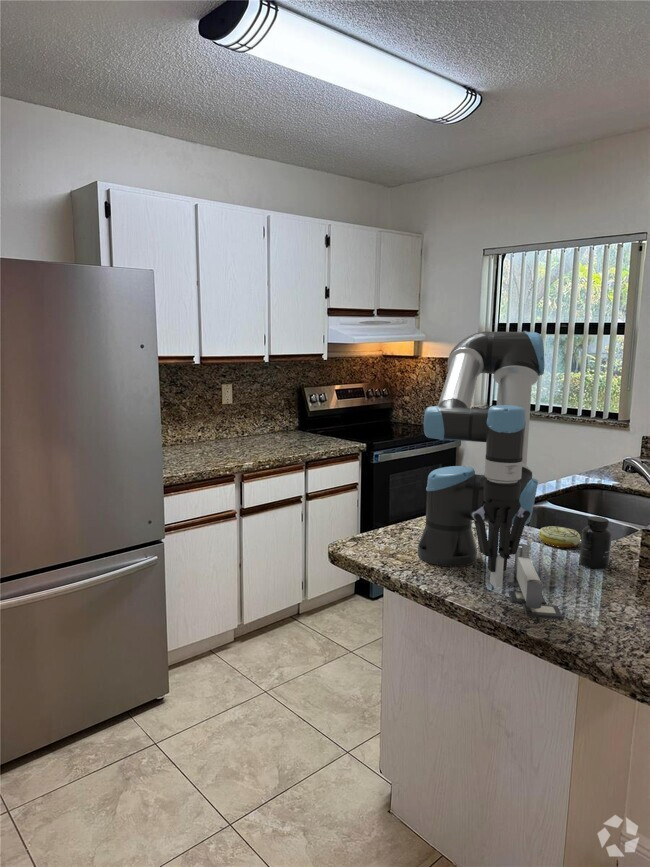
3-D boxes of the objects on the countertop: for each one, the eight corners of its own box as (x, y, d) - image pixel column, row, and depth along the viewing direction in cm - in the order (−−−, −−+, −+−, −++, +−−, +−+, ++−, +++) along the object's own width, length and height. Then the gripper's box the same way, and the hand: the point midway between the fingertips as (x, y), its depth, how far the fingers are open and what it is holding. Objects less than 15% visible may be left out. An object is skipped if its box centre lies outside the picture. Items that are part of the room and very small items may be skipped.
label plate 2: (526, 616, 124) (527, 613, 124) (522, 605, 129) (522, 602, 129) (562, 619, 123) (562, 615, 123) (557, 608, 128) (557, 605, 128)
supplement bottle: (611, 571, 148) (616, 524, 146) (582, 568, 149) (586, 522, 147) (605, 560, 155) (609, 515, 153) (576, 558, 156) (580, 513, 154)
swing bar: (515, 577, 138) (516, 557, 138) (528, 578, 138) (530, 557, 137) (527, 608, 123) (528, 585, 122) (542, 609, 123) (544, 586, 122)
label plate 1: (512, 602, 130) (512, 599, 130) (508, 592, 135) (508, 589, 135) (545, 605, 129) (546, 602, 129) (541, 595, 134) (541, 592, 134)
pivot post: (506, 584, 139) (509, 547, 138) (511, 577, 144) (513, 540, 142) (529, 589, 137) (531, 551, 136) (533, 581, 141) (535, 544, 140)
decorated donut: (584, 550, 162) (586, 537, 162) (543, 548, 164) (544, 535, 163) (573, 537, 173) (575, 524, 172) (535, 535, 174) (536, 523, 173)
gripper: (481, 484, 122) (475, 594, 126) (540, 482, 125) (532, 590, 129) (466, 476, 129) (460, 580, 133) (521, 474, 132) (514, 576, 136)
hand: (496, 585), depth 131 cm, fingers closed
